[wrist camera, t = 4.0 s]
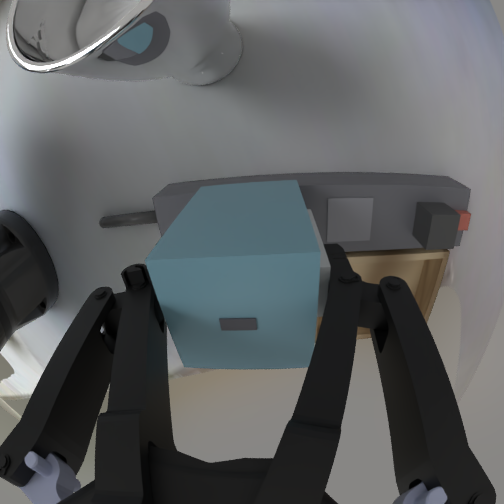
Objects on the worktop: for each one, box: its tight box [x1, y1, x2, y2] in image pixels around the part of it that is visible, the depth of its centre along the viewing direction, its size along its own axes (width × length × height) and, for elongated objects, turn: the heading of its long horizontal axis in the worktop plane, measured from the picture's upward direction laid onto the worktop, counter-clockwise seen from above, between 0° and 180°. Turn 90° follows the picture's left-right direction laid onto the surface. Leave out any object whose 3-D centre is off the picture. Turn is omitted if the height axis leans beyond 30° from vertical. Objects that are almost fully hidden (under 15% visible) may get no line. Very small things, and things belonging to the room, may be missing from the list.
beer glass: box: [6, 0, 243, 86], centre depth 9 cm, size 7×7×15 cm
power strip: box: [100, 172, 471, 252], centre depth 19 cm, size 32×5×6 cm, turn 95°
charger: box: [145, 180, 321, 369], centre depth 15 cm, size 6×6×12 cm
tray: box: [315, 248, 450, 343], centre depth 23 cm, size 12×9×4 cm
